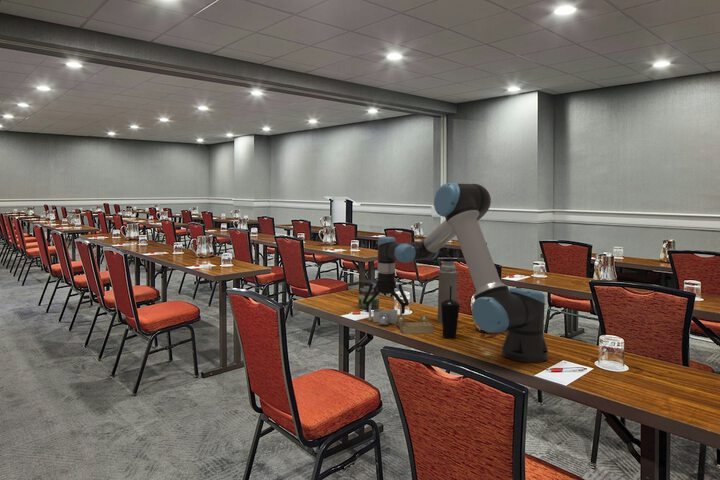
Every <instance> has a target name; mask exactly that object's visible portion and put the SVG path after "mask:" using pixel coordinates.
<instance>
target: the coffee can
mask: <svg viewBox="0 0 720 480" xmlns="http://www.w3.org/2000/svg"><path fill="white" fill-rule="evenodd" d="M371 282H373V283H376V284H377V279H372V278H367V279H366V278H364V279H359V280H358V307H357V308H359V309H362V310H366V304H363V303H362V302H363V300H364V298H365V296H366V294H367V292H368V290H369V288H370V284H371ZM377 291H378V288H377V287H376V286H375V287H374V288H373V289H372V291H371V293H370V295H369V296H368V298H367V300H366V301H369V300H370V299H371V297H372V296H373V295H374V294H375V293H376V292H377ZM370 304H371V310H375V309H380V293H379V294H378V295H377V296H376V297H375V299H374V300H373V301H372V302H371V303H370ZM359 309H358V310H359Z"/></svg>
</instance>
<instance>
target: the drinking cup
mask: <svg viewBox="0 0 720 480" xmlns="http://www.w3.org/2000/svg"><path fill="white" fill-rule="evenodd" d="M451 296H452V286H450V299H447V300H444V301H441V302H440V303H441V309H442V323H441V325H442V337H443V338H445V339H448V340H449V339H456V337H457V329H458V322H459V313H460V305H461V302H460V301H459V300H457V301H456V300H453V299H451Z"/></svg>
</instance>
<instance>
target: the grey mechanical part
mask: <svg viewBox="0 0 720 480" xmlns="http://www.w3.org/2000/svg"><path fill="white" fill-rule="evenodd" d="M372 314H373V315H372V316H373V317H372V319H373V321H372V322H379V323H378V324H379V326H389V323H392V324H394V325H398V324H397V317H398V309H381V308H379V309H375V310H374V311H373V313H372Z"/></svg>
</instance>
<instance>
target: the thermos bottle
mask: <svg viewBox="0 0 720 480" xmlns="http://www.w3.org/2000/svg"><path fill="white" fill-rule="evenodd" d="M439 269H440V270H438V286H437V291H438V293H437V295H438V296H437V298H438V299H437V322H438V323H439V324H442V309H441V303H440V302H441V301H444V300H447V299H450V286H452V296H451V299H453V300H456V301H458V300H457V298H458V297H457V296H458V295H457V294H458V271H456V270H457V267H456V265H455V258H448V257H446V258H442V265H440V267H439Z"/></svg>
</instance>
